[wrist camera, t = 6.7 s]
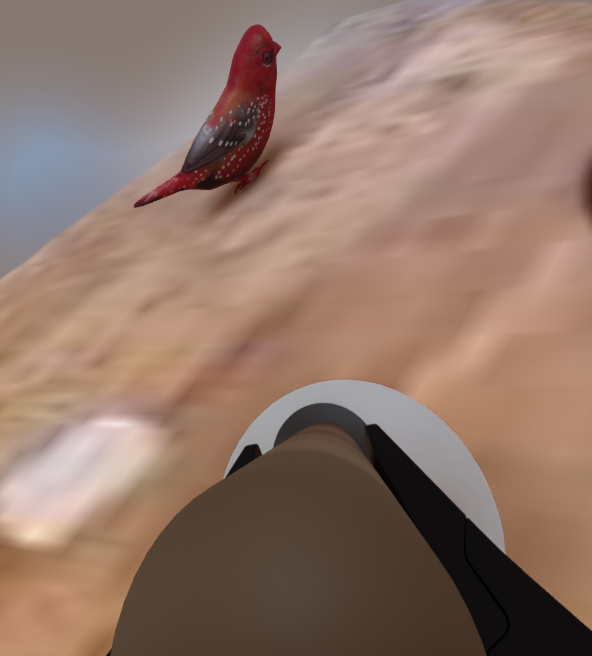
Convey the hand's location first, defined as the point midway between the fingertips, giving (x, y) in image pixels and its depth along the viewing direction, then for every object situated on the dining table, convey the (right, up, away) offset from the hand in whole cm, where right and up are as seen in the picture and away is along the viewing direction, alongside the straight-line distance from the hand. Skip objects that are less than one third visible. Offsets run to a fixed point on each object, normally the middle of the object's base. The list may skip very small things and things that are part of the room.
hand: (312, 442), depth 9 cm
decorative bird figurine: (-7, +18, +19) cm, 27 cm away
